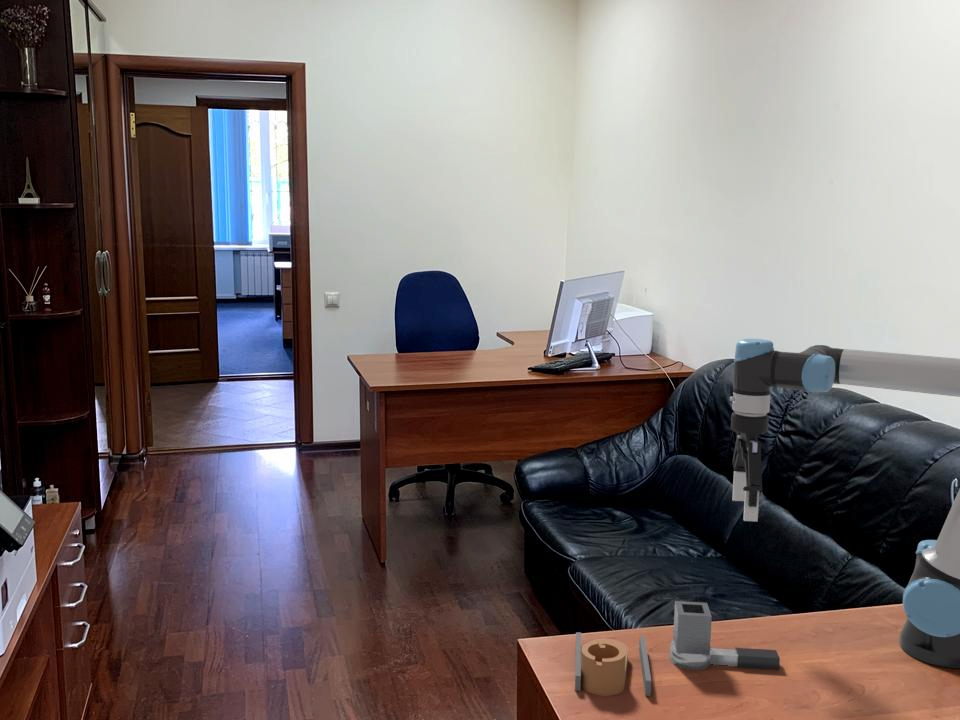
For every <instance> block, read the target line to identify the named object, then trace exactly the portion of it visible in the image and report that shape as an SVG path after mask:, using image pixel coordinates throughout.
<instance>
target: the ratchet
mask: <svg viewBox="0 0 960 720" xmlns="http://www.w3.org/2000/svg"><path fill="white" fill-rule="evenodd" d="M669 650H670V651H669V660H670V661H671V663H672V664H674V666H676V667H678V668H680V667H681V668H680V669H684V670H689V671H701V669H702V670H706V669H708V668H709V667H710V666H711V665H710V664H713V665H712V666H719V665H728V666H727V667H734V666H737V668H738V667H744V668H743V669H754V670H755V669H757V670H769V669H776V670H775V671H780V659H781V658H780V656H779V654H778V651H777V650H776V649H767V648H766V649H763V648H760V649H759V648H749V647H748V648H747V647H735V649H730V648H729V649H728V648H716V647H715V648H714V647H712V646H711V645H710V655H703V654H687V653H677V652H676V648H675V643H674V639H672V640H671V642H670V649H669ZM709 665H710V666H709ZM708 666H709V667H708ZM707 667H708V668H707ZM705 668H706V669H705Z"/></svg>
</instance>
